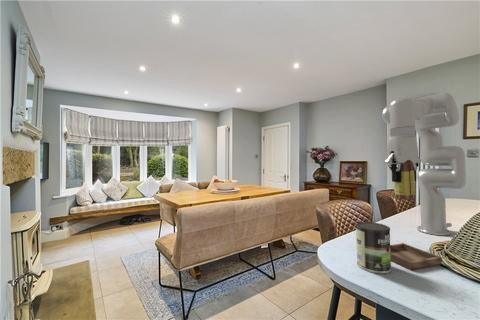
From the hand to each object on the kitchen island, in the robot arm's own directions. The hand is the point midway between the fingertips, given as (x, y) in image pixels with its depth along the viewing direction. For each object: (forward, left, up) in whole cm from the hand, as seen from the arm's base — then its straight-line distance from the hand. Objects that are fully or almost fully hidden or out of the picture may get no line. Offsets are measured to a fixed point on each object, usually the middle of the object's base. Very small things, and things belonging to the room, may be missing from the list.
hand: (404, 181), depth 81 cm
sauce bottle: (0, 0, -7) cm, 7 cm away
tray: (0, 0, -29) cm, 29 cm away
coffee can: (+16, +1, -29) cm, 33 cm away
